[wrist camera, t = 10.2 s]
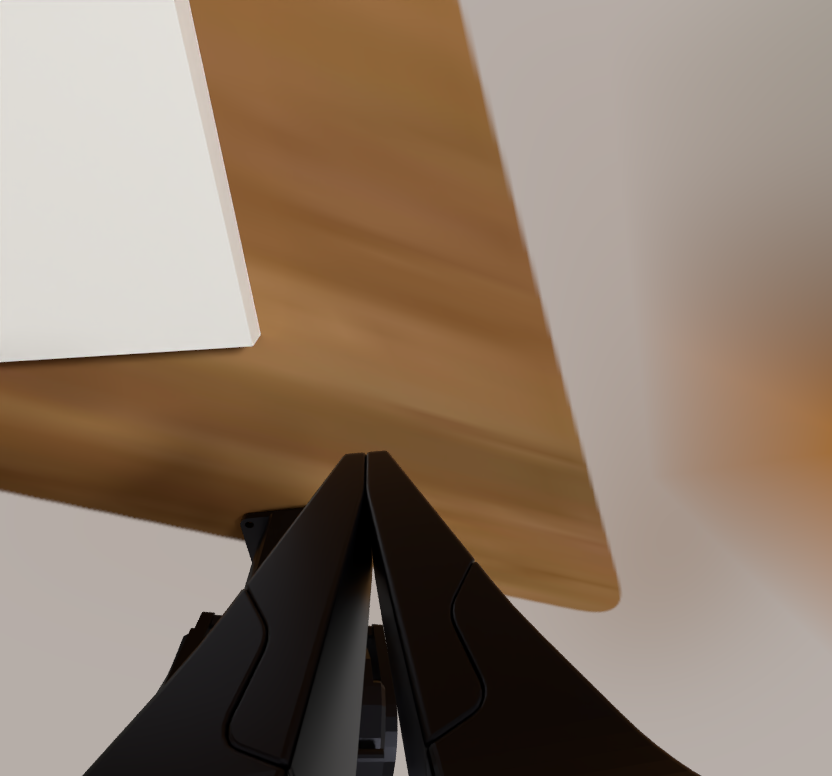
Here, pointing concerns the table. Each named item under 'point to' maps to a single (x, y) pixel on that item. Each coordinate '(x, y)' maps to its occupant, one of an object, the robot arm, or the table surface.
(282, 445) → the table surface
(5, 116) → the plate
